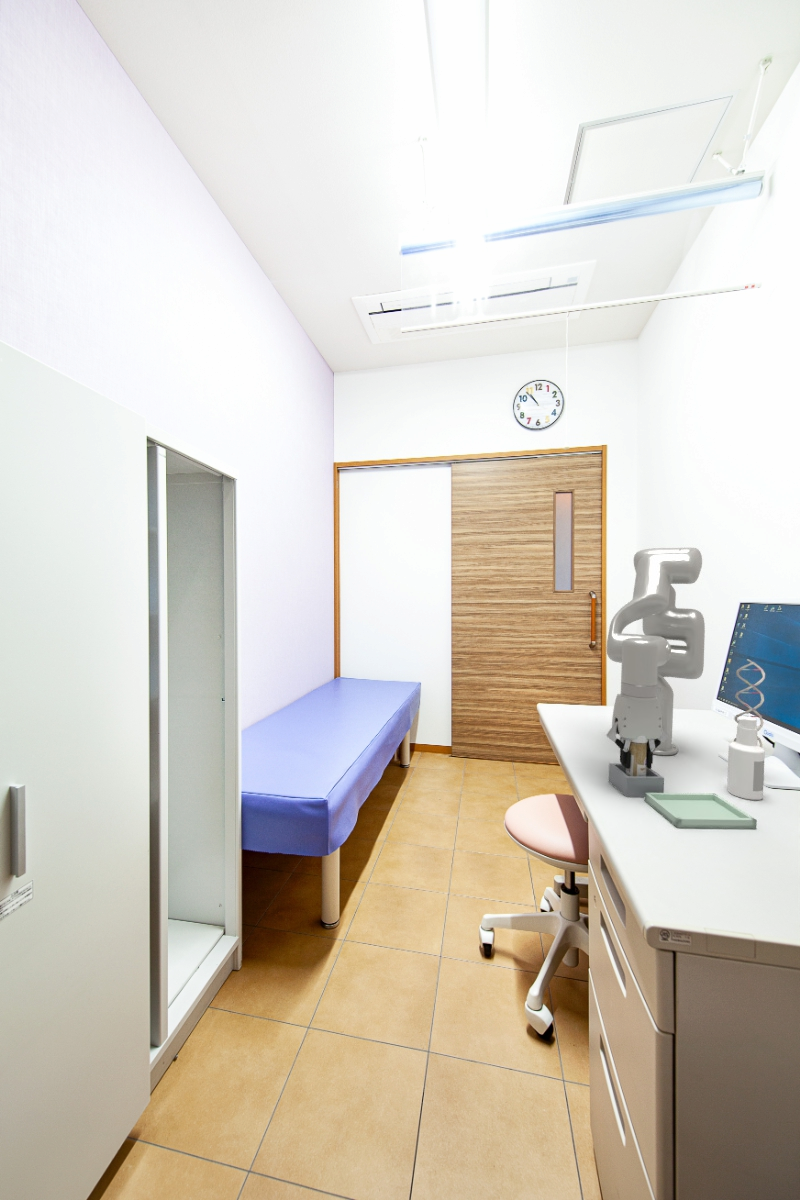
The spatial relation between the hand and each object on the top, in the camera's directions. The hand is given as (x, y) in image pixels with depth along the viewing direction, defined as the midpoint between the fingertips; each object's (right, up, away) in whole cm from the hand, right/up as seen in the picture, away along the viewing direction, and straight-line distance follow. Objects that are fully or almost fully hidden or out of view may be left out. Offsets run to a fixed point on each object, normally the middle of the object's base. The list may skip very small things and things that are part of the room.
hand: (635, 765), depth 111 cm
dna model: (+33, -6, +10) cm, 35 cm away
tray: (+7, -6, -12) cm, 15 cm away
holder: (0, -6, 0) cm, 6 cm away
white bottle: (+25, -6, -2) cm, 26 cm away
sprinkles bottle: (0, -6, 0) cm, 6 cm away
